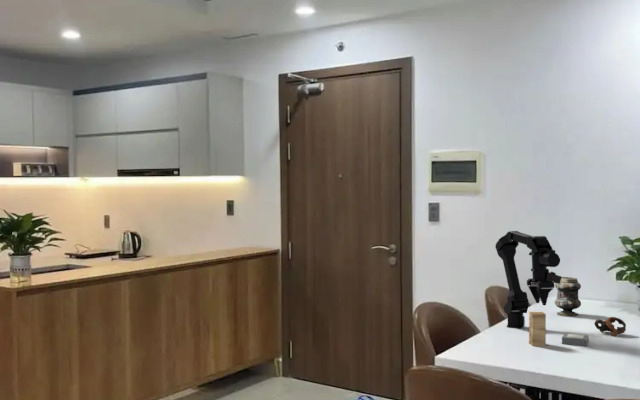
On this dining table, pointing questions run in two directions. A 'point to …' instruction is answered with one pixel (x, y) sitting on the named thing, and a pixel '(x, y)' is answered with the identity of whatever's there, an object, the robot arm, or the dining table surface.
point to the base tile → (575, 339)
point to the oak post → (537, 328)
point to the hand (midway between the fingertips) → (541, 304)
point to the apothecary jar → (567, 296)
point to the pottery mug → (610, 326)
